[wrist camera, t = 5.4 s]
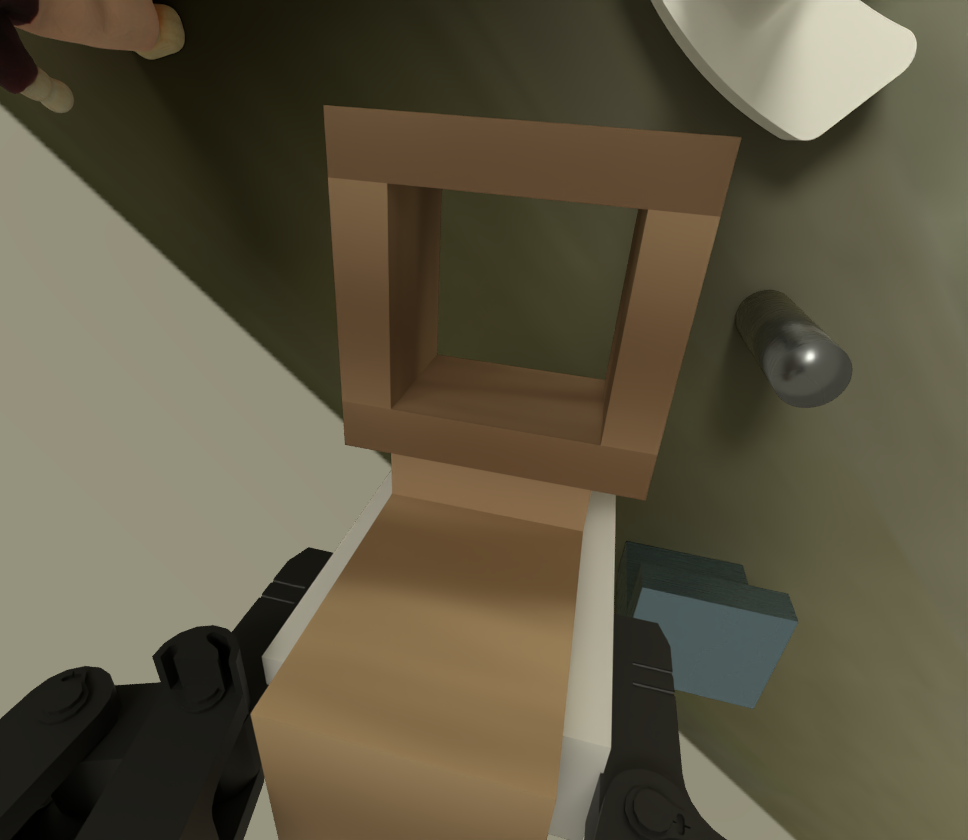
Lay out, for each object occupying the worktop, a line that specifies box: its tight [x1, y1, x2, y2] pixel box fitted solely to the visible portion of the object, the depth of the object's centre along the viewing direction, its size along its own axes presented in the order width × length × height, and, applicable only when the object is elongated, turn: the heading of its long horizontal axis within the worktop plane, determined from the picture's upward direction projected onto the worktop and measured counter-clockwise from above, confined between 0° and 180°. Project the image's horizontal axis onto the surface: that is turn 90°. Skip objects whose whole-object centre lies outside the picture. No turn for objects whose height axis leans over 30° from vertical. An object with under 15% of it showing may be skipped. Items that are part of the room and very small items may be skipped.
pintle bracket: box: [616, 290, 852, 709], centre depth 23 cm, size 17×6×6 cm, turn 175°
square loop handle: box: [250, 105, 742, 840], centre depth 10 cm, size 15×6×8 cm, turn 176°
